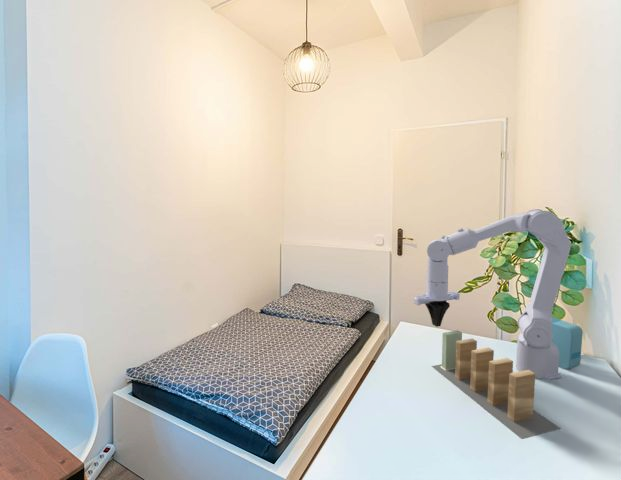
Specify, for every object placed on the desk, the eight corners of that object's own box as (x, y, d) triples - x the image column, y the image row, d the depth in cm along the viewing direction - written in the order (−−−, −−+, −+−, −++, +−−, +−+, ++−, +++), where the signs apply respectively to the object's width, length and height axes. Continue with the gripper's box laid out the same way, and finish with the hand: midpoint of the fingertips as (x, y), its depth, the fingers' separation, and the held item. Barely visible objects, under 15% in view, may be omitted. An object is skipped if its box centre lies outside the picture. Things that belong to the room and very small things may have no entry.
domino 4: (507, 417, 69) (509, 373, 68) (525, 412, 70) (528, 369, 69) (513, 422, 68) (516, 377, 66) (532, 417, 69) (535, 373, 68)
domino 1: (455, 377, 85) (456, 341, 84) (471, 374, 86) (472, 338, 85) (459, 380, 84) (460, 343, 82) (475, 377, 85) (476, 341, 83)
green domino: (441, 366, 90) (442, 332, 89) (457, 364, 92) (458, 330, 90) (445, 369, 89) (446, 335, 88) (460, 366, 90) (462, 332, 89)
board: (461, 363, 93) (461, 360, 93) (561, 432, 66) (561, 428, 65) (431, 368, 91) (431, 365, 91) (521, 442, 63) (521, 438, 63)
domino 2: (470, 388, 80) (471, 350, 79) (487, 385, 81) (488, 347, 80) (474, 392, 78) (476, 353, 77) (492, 388, 79) (493, 350, 78)
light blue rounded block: (580, 368, 89) (583, 326, 88) (569, 371, 88) (572, 329, 86) (536, 349, 100) (539, 312, 99) (526, 352, 99) (528, 315, 97)
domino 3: (487, 401, 74) (489, 361, 73) (505, 398, 76) (507, 357, 74) (492, 406, 73) (494, 364, 72) (510, 402, 74) (513, 361, 73)
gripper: (448, 275, 100) (447, 317, 102) (407, 279, 96) (407, 323, 97) (465, 280, 93) (463, 325, 95) (422, 285, 89) (422, 332, 91)
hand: (436, 325), depth 96 cm, fingers closed
